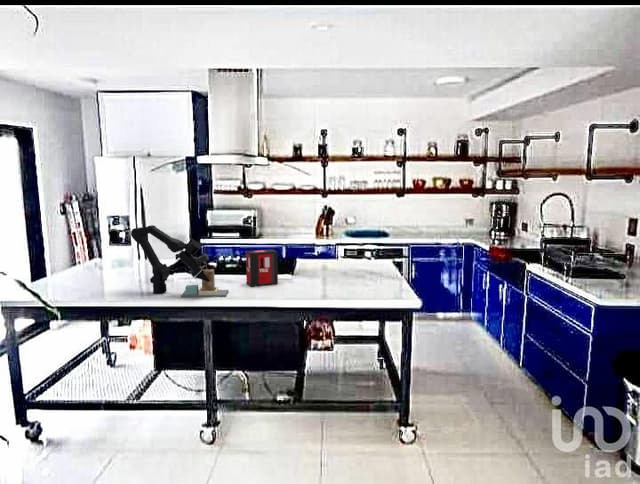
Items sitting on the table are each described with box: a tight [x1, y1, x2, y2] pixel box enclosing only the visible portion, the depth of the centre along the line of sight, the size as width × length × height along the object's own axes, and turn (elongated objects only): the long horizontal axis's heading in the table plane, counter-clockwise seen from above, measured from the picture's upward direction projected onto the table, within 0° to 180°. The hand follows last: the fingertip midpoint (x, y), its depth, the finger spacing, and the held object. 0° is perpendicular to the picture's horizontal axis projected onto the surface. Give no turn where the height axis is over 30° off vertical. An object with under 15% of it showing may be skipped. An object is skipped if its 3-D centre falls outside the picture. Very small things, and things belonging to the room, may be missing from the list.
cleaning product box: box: [245, 249, 279, 288], centre depth 306 cm, size 16×9×20 cm, turn 115°
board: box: [180, 284, 229, 299], centre depth 282 cm, size 24×12×5 cm, turn 95°
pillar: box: [201, 268, 216, 291], centre depth 281 cm, size 6×6×12 cm
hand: (210, 279), depth 281 cm, fingers open, 9 cm apart
